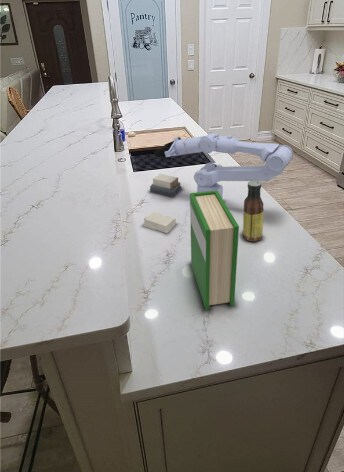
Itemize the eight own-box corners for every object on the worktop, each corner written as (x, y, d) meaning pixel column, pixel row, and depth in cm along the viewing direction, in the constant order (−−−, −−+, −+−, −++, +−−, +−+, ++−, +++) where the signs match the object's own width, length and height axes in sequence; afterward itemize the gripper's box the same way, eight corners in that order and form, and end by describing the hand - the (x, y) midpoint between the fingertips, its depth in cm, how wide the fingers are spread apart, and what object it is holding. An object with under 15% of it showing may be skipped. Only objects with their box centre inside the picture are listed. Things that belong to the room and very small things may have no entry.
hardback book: (234, 305, 83) (238, 226, 72) (205, 309, 82) (206, 230, 71) (215, 261, 99) (217, 190, 87) (191, 264, 98) (189, 193, 87)
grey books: (182, 189, 141) (181, 182, 140) (172, 197, 135) (171, 191, 134) (160, 184, 147) (159, 178, 145) (149, 192, 140) (148, 185, 139)
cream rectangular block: (176, 224, 117) (176, 217, 115) (167, 233, 112) (166, 226, 111) (153, 218, 121) (152, 211, 120) (143, 226, 117) (142, 219, 115)
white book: (178, 183, 139) (178, 177, 138) (171, 189, 135) (171, 182, 134) (160, 179, 143) (159, 173, 142) (153, 185, 139) (152, 178, 138)
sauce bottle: (263, 233, 110) (269, 180, 101) (259, 244, 105) (265, 189, 96) (244, 229, 112) (248, 177, 103) (239, 239, 107) (243, 185, 98)
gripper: (194, 130, 127) (166, 135, 135) (175, 142, 116) (146, 146, 124) (199, 147, 129) (171, 151, 137) (181, 160, 119) (152, 164, 127)
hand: (160, 150), depth 131 cm, fingers open, 7 cm apart
